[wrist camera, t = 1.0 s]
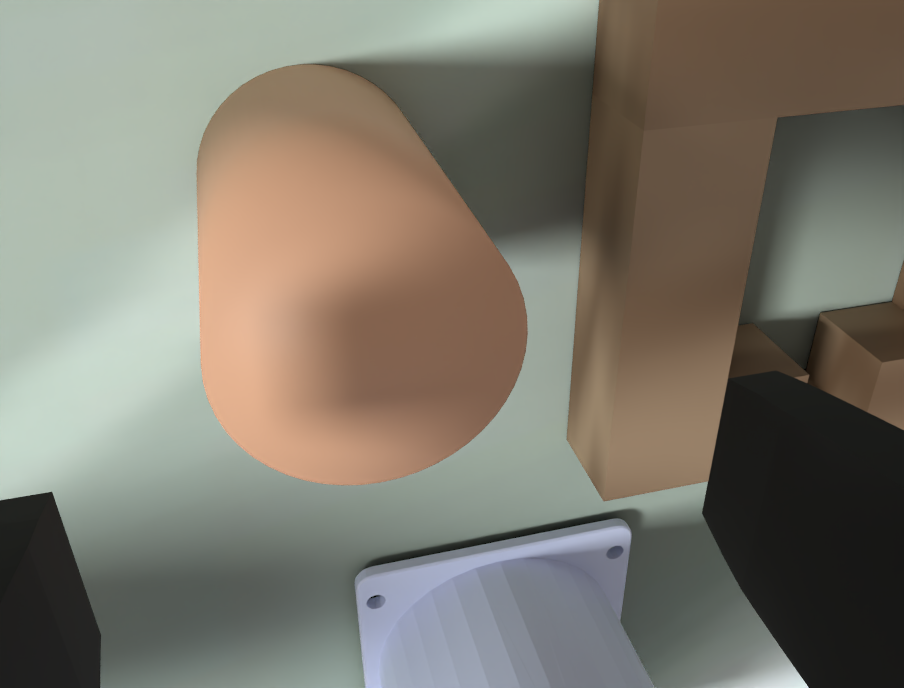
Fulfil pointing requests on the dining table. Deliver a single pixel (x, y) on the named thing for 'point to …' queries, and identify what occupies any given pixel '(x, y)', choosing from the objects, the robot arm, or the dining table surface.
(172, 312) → the dining table surface
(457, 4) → the dining table surface
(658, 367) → the keyhole board
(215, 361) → the terracotta peg
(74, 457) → the dining table surface
